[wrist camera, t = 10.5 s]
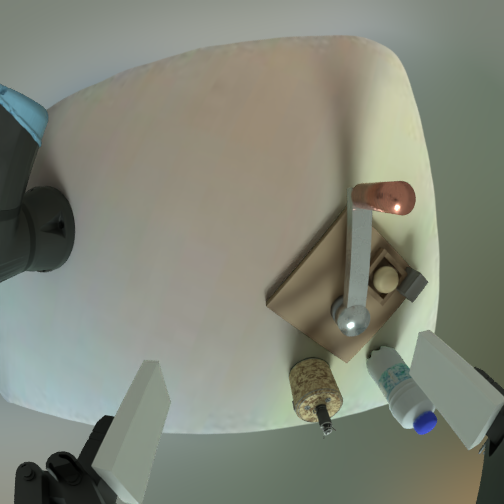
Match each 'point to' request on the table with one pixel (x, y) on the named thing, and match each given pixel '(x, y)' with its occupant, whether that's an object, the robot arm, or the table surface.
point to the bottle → (401, 390)
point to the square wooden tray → (341, 290)
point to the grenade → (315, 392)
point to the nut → (385, 279)
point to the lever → (366, 245)
